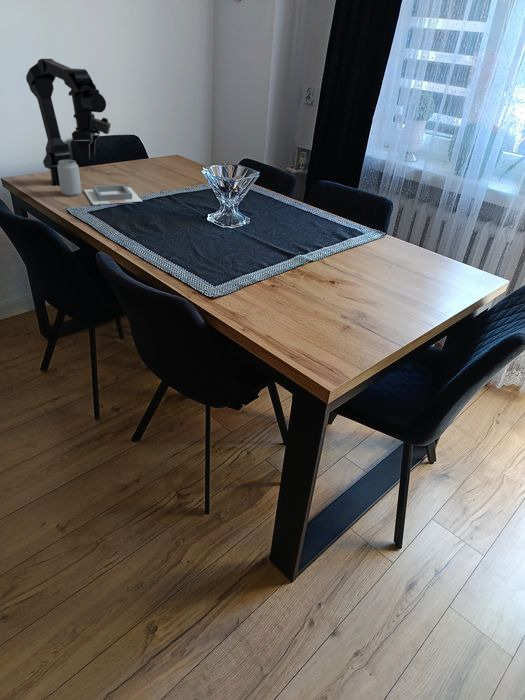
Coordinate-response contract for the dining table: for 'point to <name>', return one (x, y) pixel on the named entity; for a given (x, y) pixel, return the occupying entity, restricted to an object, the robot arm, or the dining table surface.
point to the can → (69, 177)
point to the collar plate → (111, 194)
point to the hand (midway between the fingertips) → (90, 158)
